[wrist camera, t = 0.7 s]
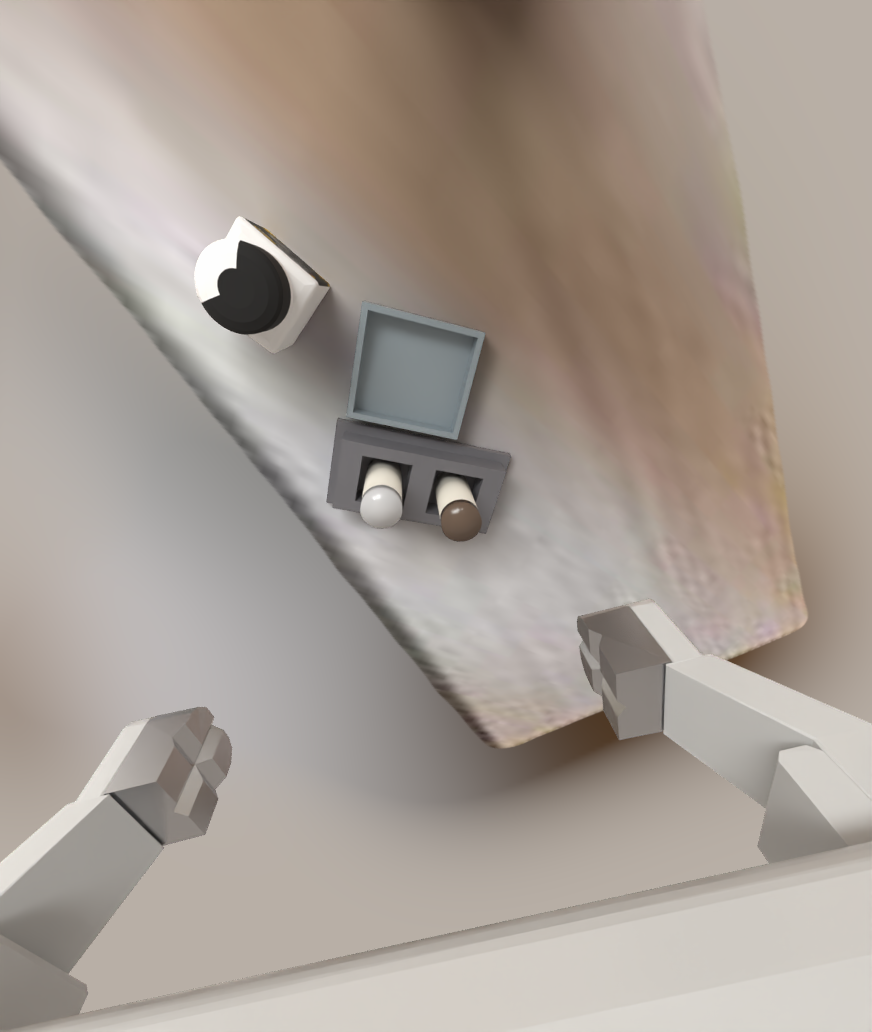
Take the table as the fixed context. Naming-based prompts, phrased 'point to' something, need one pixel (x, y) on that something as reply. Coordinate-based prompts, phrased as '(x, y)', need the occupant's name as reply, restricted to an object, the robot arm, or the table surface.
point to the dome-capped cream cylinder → (382, 494)
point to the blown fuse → (456, 507)
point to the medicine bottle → (258, 286)
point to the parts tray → (412, 371)
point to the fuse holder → (412, 469)
